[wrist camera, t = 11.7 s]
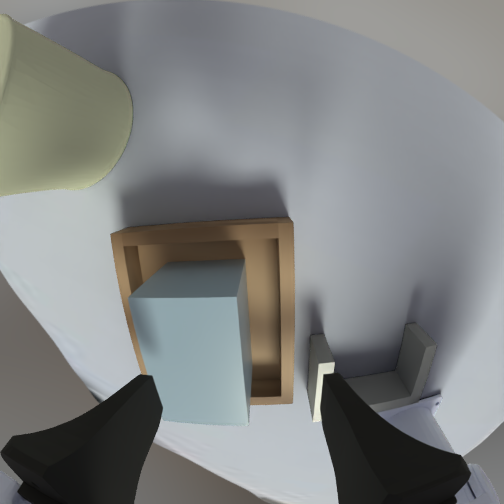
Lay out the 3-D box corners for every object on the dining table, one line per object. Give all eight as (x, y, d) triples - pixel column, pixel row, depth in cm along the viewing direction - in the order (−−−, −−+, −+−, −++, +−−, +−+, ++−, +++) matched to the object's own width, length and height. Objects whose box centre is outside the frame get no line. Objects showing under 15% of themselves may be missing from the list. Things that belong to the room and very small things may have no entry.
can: (50, 81, 15) (-57, 50, 3) (144, 63, 15) (38, -24, 3) (35, 189, 17) (-84, 210, 6) (126, 191, 17) (-23, 216, 6)
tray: (290, 382, 20) (292, 403, 18) (159, 380, 21) (150, 399, 18) (289, 216, 17) (293, 222, 15) (128, 227, 18) (110, 233, 15)
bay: (403, 377, 20) (418, 402, 17) (307, 391, 20) (312, 422, 17) (416, 322, 19) (437, 344, 15) (310, 335, 19) (318, 363, 16)
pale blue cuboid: (252, 365, 19) (248, 425, 13) (185, 364, 20) (163, 420, 14) (245, 258, 17) (236, 296, 12) (167, 261, 18) (127, 297, 12)
